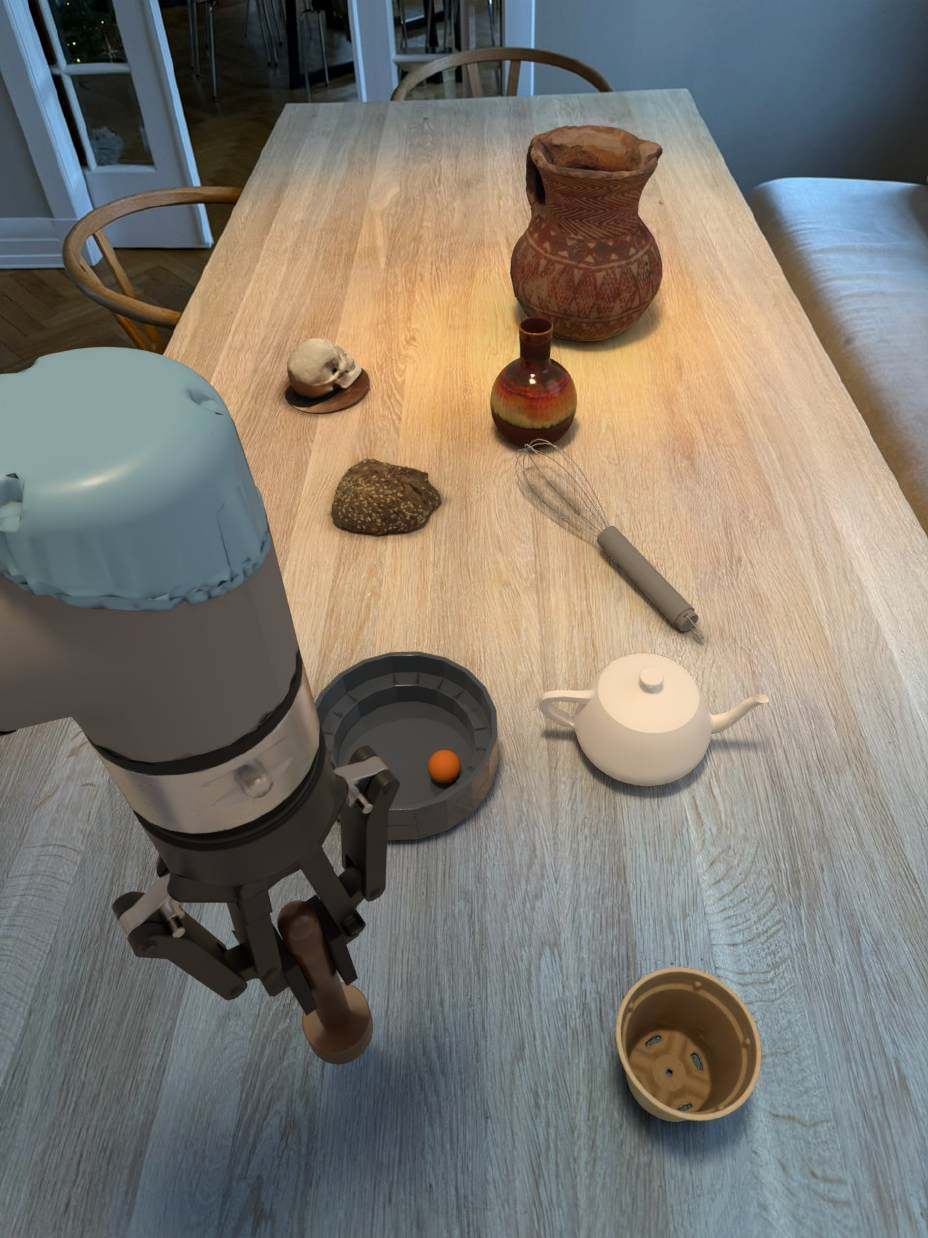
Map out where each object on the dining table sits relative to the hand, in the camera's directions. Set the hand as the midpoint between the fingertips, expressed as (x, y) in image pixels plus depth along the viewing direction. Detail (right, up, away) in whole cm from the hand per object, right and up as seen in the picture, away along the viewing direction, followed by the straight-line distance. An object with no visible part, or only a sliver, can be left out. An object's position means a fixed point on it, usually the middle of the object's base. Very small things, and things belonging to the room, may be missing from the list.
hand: (320, 977), depth 51 cm
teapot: (+25, +9, +33) cm, 42 cm away
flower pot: (+23, -13, +14) cm, 30 cm away
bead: (+7, +7, +29) cm, 31 cm away
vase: (+17, +45, +66) cm, 82 cm away
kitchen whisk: (+25, +29, +51) cm, 64 cm away
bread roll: (-1, +35, +57) cm, 67 cm away
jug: (+26, +66, +84) cm, 110 cm away
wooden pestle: (0, -7, +9) cm, 11 cm away
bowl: (+3, +7, +32) cm, 33 cm away
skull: (-11, +53, +74) cm, 92 cm away
